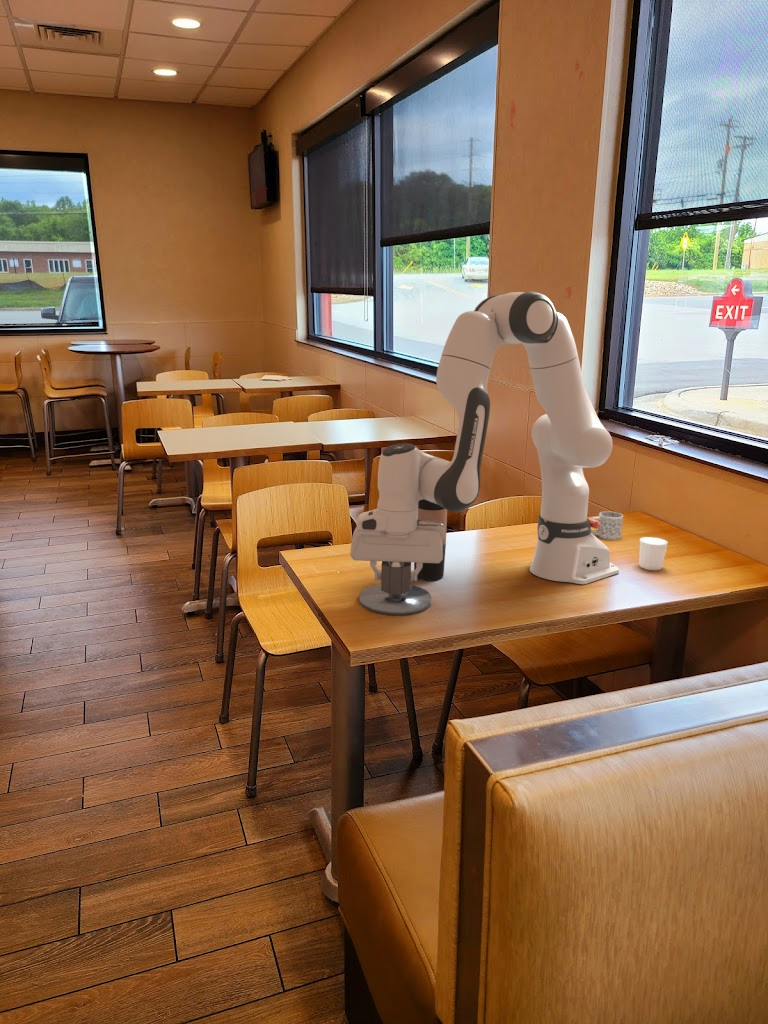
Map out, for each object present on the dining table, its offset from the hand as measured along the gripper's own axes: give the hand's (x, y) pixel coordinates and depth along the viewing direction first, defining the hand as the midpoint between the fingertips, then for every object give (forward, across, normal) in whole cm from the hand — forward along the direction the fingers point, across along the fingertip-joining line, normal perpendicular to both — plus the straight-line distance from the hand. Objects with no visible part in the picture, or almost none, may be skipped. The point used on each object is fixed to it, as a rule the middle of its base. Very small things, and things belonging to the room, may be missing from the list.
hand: (396, 579), depth 167 cm
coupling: (+2, 0, 0) cm, 2 cm away
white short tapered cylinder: (+6, -64, -30) cm, 71 cm away
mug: (+6, -58, -56) cm, 80 cm away
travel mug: (+5, -7, -17) cm, 19 cm away
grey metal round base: (+5, 0, 0) cm, 5 cm away
